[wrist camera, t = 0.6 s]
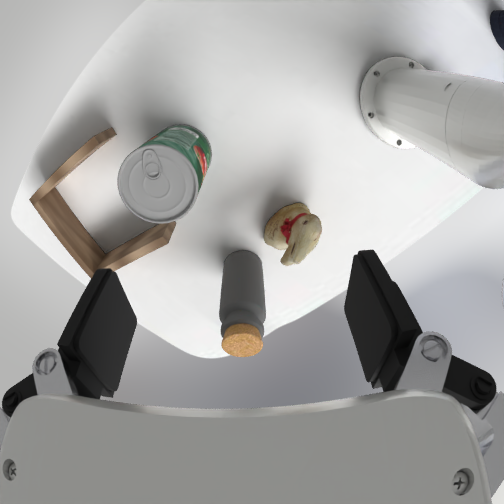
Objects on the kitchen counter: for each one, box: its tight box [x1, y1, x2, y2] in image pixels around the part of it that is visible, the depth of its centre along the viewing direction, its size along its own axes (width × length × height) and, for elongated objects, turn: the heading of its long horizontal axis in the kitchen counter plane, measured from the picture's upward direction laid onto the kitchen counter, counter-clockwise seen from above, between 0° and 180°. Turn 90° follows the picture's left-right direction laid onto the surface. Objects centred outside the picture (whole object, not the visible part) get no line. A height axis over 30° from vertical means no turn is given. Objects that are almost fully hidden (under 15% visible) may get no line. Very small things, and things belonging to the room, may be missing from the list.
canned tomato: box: [118, 125, 212, 224], centre depth 29 cm, size 8×8×11 cm
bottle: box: [219, 251, 266, 357], centre depth 37 cm, size 6×6×15 cm
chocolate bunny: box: [264, 203, 322, 266], centre depth 35 cm, size 6×8×10 cm
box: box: [29, 128, 176, 278], centre depth 34 cm, size 15×16×5 cm
